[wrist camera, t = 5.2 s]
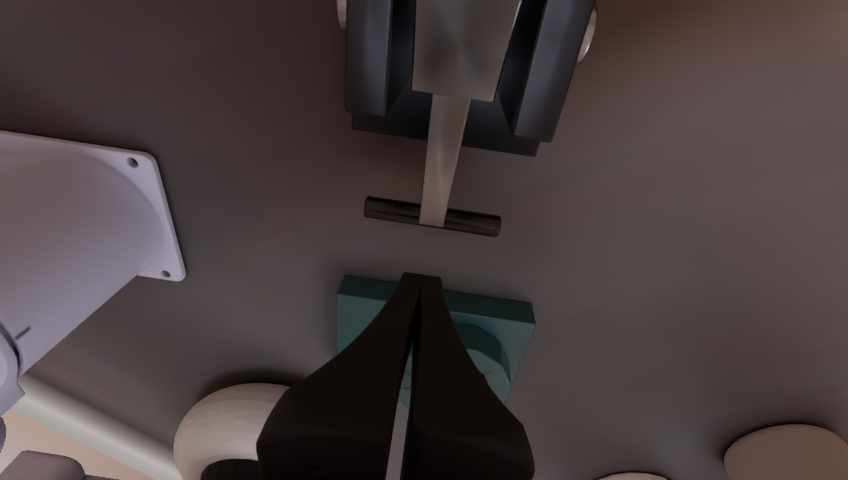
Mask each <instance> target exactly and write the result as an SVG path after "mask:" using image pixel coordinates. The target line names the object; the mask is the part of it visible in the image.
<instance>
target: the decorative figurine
mask: <svg viewBox="0 0 848 480" xmlns="http://www.w3.org/2000/svg"><path fill="white" fill-rule="evenodd" d="M288 388H290V387H288V386H284V385H277V384H269V383H250V384H240V385H234V386H231V387H227V388H224V389H221V390H218V391H216V392H214V393H212V394H210V395H208V396H206V397H205V398H204V399H202V400H201V401H199V402H198V403H197V404H196V405H194V406H193V407H192V408H191V409H190V411H189V412H188V413H187V414H186V416H185V417H184V418H183V420H182V422H181V423H180V425H179V428H178V430H177V433H176V436H175V440H174V459H175V464H176V467H177V469H178V471H179V473H180V475H181V477H182V479H183V480H259V479H260V477H261V472H260V467H259V462H258V457H257V453H256V441H257V439H258V437H259V435H260V433H261V430H262V428H263V426H264V424H265V422H266V420H267V418H268V416H269V414H270V413H271V411H272V409H273V408H274V406H275V405H276V403H277V402H278V400H279V399H280V397H281V396H282V395H283V393H284V392H285V391H286V390H287V389H288Z"/></svg>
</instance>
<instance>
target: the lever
mask: <svg viewBox="0 0 848 480" xmlns="http://www.w3.org/2000/svg"><path fill="white" fill-rule="evenodd" d="M521 4H522V0H415V16H414V36H413V57H412V77H411V89H412V90H413V91H420V92H426V93H433V96H432V105H431V115H430V124H429V133H428V142H427V151H426V160H425V169H424V179H423V188H422V197H421V204H418V203H412V202H405V201H399V200H392V199H385V198H379V197H372V196H367V198H366V200H365V205H364V216H365V217H367V218H374V219H380V220H387V221H393V222H400V223H406V224H413V225H420V226H426V227H433V228H439V229H446V230H452V231H459V232H466V233H472V234H479V235H485V236H492V237H497V236H498V234H499V231H500V226H501V217H500V216H497V215H491V214H484V213H478V212H471V211H464V210H458V209H451V208H448V203H449V198H450V194H451V189H452V185H453V180H454V175H455V171H456V166H457V162H458V157H459V152H460V148H461V143H462V139H463V134H464V129H465V125H466V120H467V116H468V111H469V106H470V102H471V99H473V100H480V101H486V102H493V101H494V100H495V96H496V92H497V89H498V85H499V82H500V78H501V75H502V71H503V68H504V64H505V61H506V57H507V54H508V50H509V46H510V43H511V39H512V36H513V32H514V29H515V25H516V22H517V18H518V15H519V11H520V7H521Z"/></svg>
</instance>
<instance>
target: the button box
mask: <svg viewBox="0 0 848 480" xmlns="http://www.w3.org/2000/svg"><path fill="white" fill-rule="evenodd" d="M397 285H398V283H392V282H385V281H378V280H372V279H365V278H359V277H352V276H346V275H345V276H344V278H343V280H342V283H341V285H340V287H339V290H338V292H337V355H338V354H339V353H340V352H341V351H342V350H343V349H344V348H346V347H347V346H348V345H349V344H350V343H351V342H352V341H353V340H354V339H355V338H356V337H357V336H358V335H359V334H360V333H361V332H362V331H363V330H364V329H365V328H366V327H367V326H368V325H369V324H370V322H371V321H372V320H373V319H374V318H375V316H376V315H377V314H378V313H379V312H380V310H381V309H382V308H383V306H384V305H385V303H386V302H387V301H388V299H389V298H390V296H391V295H392V293H393V292H394V290H395V289H396V287H397ZM443 291H444V290H443ZM444 295H445V299H446V302H447V306H448V309H449V311H450V314H451V317H452V319H453V322H454V324H455V327H456V329H457V331H458V334H459V336H460V338H461V340H462V342H463V344H464V346H465V348H466V350H467V352H468V353H469V355H470V357H471V359H472V360H473V362H474V364H475V365H476V367H477V369H478V370H479V372H480V373H481V375H482V376H483V377H484V379H485V380H486V382H487V383H488V384H489V386H490V387H491V389H492V390H493V392H494V393H495V394H496V395H497V397H498V398H499V399H500V400H501V402H502V403H503V404H504V405H505V402H506V400H507V397H508V394H509V392H510V389H511V387H512V384H513V382H514V379H515V377H516V374H517V371H518V369H519V366H520V364H521V361H522V359H523V356H524V354H525V351H526V349H527V346H528V343H529V341H530V338H531V336H532V333H533V331H534V328H535V326H536V322H535V318H534V313H533V308H532V304H529V303H522V302H516V301H509V300H503V299H496V298H490V297H483V296H477V295H470V294H463V293H457V292H450V291H444ZM412 343H413V341H412ZM411 367H412V345H411V349H410V353H409V357H408V361H407V365H406V369H405V373H404V377H403V381H402V385H401V389H400V393H399V398H400V399H401V401H402V402H403V404H404V405H405V406H406V407H408V408H409V406H410V392H411Z"/></svg>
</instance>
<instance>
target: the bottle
mask: <svg viewBox="0 0 848 480" xmlns="http://www.w3.org/2000/svg"><path fill="white" fill-rule="evenodd" d="M598 480H667V479H665V478H663V477H661V476H657V475H653V474H649V473H634V472H629V473H621V474H613V475H610V476H607V477H604V478H601V479H598Z"/></svg>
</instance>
